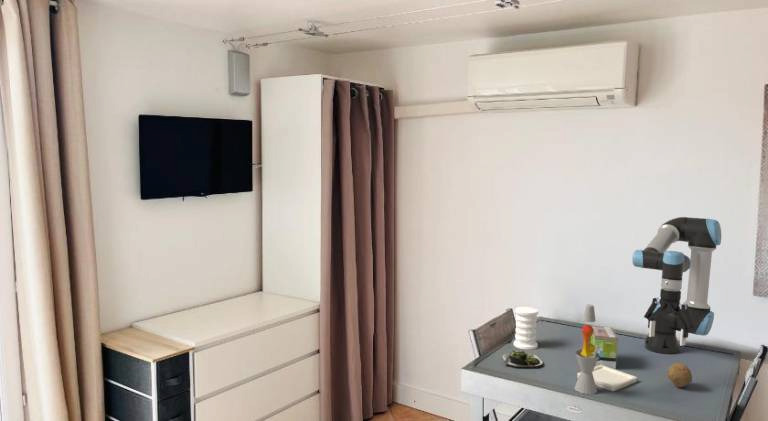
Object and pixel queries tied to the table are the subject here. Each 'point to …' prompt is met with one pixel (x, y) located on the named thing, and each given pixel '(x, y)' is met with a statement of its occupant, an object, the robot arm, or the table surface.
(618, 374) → the tray
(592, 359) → the lava lamp
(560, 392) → the table surface
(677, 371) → the natural sponge
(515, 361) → the salad plate
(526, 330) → the decorative container
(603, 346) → the tea box
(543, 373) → the table surface
